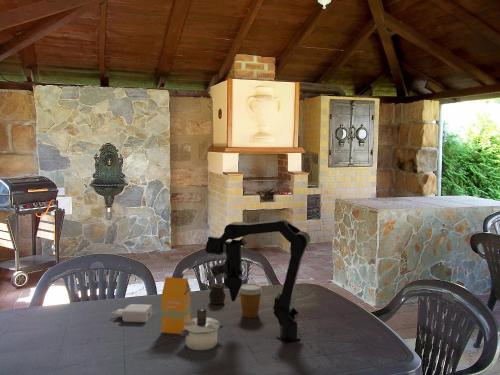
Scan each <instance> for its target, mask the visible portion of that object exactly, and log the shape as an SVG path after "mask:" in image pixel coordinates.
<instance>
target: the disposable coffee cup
mask: <svg viewBox="0 0 500 375" xmlns="http://www.w3.org/2000/svg"><path fill="white" fill-rule="evenodd" d="M262 291H263V289H262V286H261V285H260V284H257V283H244V284H243V283H242V285H241V288H240V290H239V294H240V302H241V312H242V316H243V317H245V318H257V317H258V315H259V309H260V301H261V295H262Z"/></svg>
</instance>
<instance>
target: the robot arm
mask: <svg viewBox="0 0 500 375" xmlns="http://www.w3.org/2000/svg"><path fill="white" fill-rule="evenodd" d="M275 232H276V233H278V232H279V233H280V234H281V235H282V236H283V237H284V239H286V241H287V242H289V243H290V244H289V245H290V248H289V252H290V258H289V263H288V267H287V270H286V274H285V278H284V283H283V287H282V291H281V293H278V294H277V295H276V296H275V297H274V305H273V306H272V309H273V315H274V316H275V318H277V321H278V324H279V334H277V335H276V338H278V340H281V341H282V342H284V343H287V344H288V343H292V342H296V341H300V340H301V337H300V336H299V335H298V322H297V319H298V317H299V315H300V313H299V311H297V310H296V309H295V307H294V303H295V302H294V300H295V299H294V292H295V287H296V283H297V280H298V275H299V272H300V268H301V264H302V260H303V257H304V255H305V253H306V251H307V250H308V247H309V244H310V243H311V236H310V235H309V233H308V232H306V231H303V230H301V229H299V228H298V227H297V226H295V225H293V224H292V223H290V222H289V221H288V220H287V219H284V218H283V219H280V220H279V219H278V220H270V221H263V222H262V221H261V222H252V223H251V222H249V223H248V222H243V221H233V222H231V223H229V224H227V225H225V227H224V230H223V234H222V235H221V236H214V235H213V236H211V235H209V236H208V237H207V240H206V243H205V246H204V247H205V253H206V254H207V255H212V256H223V255H224V254H225V258H224V259H225V260H224V261H222V262H219V263H216V264H213V265H212V266H210V272H211V275H212V276H213V277H217V276H219V275H223V274H224V275H225V276H224V278H223V279H224V282H223V284H224V285H223V286H225V287H226V288H227V289H228V290H229V295H230V301H231V302H235V301H236V299H237V298H238V294H239V293H240V291H239V290H240V288H241V285H243V280H242V278H243V277H242V274H243V267H242V247H244V246H246V245H247V244H248V242H247V241H246V240H245V239H244V238H243V237H245V236H246V237H247V236H249V235H256V234H267V233H275ZM239 238H240V239H239ZM228 240H230V241H228Z"/></svg>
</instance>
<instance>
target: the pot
mask: <svg viewBox="0 0 500 375" xmlns="http://www.w3.org/2000/svg"><path fill="white" fill-rule="evenodd" d="M223 328H224V325H223V324H222V323H221V322H219V328H218V329H223ZM218 329H217V330H216V331H214V332H211V333H205V334H195V333H190V332H187V331H186V330H184V331H179V334H178V335H180V337H183V338H184V337H185V346H186V347H187V349H191V350H196V351H205V350H210V349H213V348H214V347H216V346H217V345H218Z"/></svg>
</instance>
